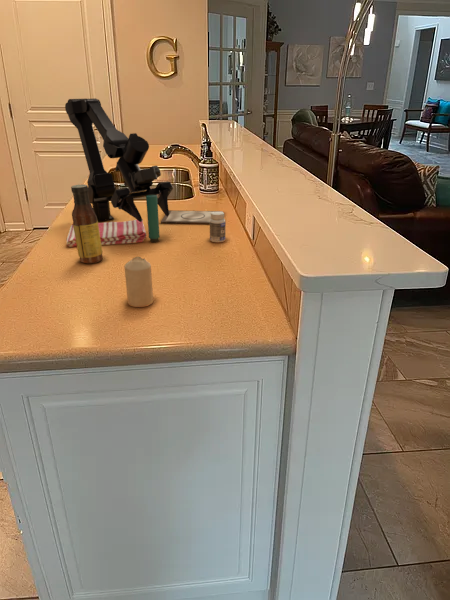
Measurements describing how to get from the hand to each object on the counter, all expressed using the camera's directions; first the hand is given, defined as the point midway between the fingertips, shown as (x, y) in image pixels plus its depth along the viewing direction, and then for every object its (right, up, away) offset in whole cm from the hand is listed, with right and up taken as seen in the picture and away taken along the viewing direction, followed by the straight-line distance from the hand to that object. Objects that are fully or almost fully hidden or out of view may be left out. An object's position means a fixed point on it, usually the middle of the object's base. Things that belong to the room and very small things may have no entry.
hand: (154, 218), depth 138 cm
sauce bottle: (-16, -13, -11) cm, 23 cm away
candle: (+2, -24, -34) cm, 42 cm away
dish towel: (-16, -4, +8) cm, 18 cm away
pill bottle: (+18, -6, +5) cm, 20 cm away
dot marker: (-1, -6, +4) cm, 7 cm away
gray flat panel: (+9, +5, +27) cm, 29 cm away
